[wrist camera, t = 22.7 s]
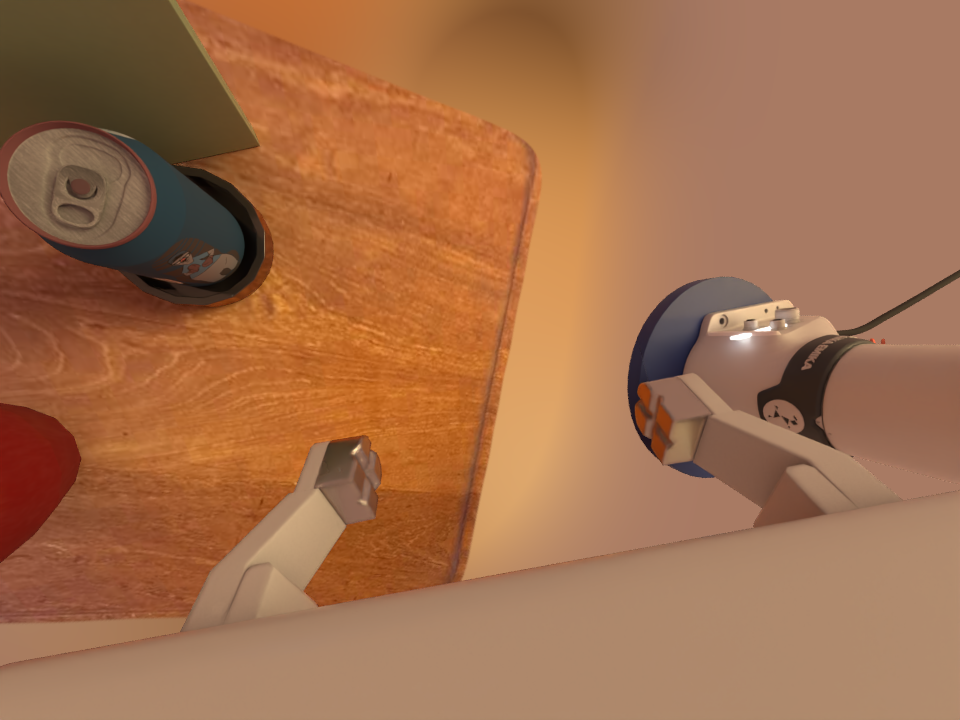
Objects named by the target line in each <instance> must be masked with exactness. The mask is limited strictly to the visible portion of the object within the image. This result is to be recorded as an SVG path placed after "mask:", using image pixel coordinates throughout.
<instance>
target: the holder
mask: <svg viewBox="0 0 960 720" xmlns="http://www.w3.org/2000/svg"><path fill="white" fill-rule="evenodd" d="M172 166H173V167H174V168H176V169H177V170H178V171H179V172H181V173H182V174H183V175H184V176H186V177H187V178H188V179H189V180H191V181H192V182H193V183H194V184H196V185H197V186H198V187H199V188H201V189H202V190H203V191H204V192H206V193H207V194H208V195H209V196H211V197H212V198H213V199H214V200H216V201H217V202H218V203H219V204H221V205H222V206H223V207H224V208H226V209H227V210H228V211H229V212H230V213H231V214H232V215H233V217H234V218H235V219H236V221H237V222H238V224H239V226H240V228H241V230H242V233H243V237H244V244H245V248H244V255H243V258H242V261H241V263H240V265H239V267H238V268H237V269H236V271H235V272H234V273H233V274H232V275H230V276H229V277H228V278H226V279H225V280H223V281H221V282H219V283H216V284H213V285H208V286H199V287H194V286H185V285H181V284H176V283H172V282H168V281H163V280H159V279H154V278H150V277H146V276H141V275H137V274H133V273H128V272H124V271H120V270H119V271H120V272H121V273H122V274H123V275H124V276H126V277H127V278H128V279H129V280H130V281H131V282H133V283H134V284H135V285H136V286H137V287H139V288H140V289H141V290H142V291H144V292H145V293H148V294H151V295H153V296H156V297H158V298H161V299H163V300H166V301H168V302H171V303H174V304H180V305H188V306H204V307H218V306H223V305H228V304H232V303H235V302H237V301H240V300H242V299H244V298H246V297H247V296H249V295H250V294H252V293H253V292H254V291H255V290H257V289H258V288H259V287H260V286H261V284H262V283H263V282H264V280H265V279H266V277H267V275H268V274H269V271H270V268H271V266H272V261H273V241H272V237H271V233H270V231H269V228H268V226H267V224H266V222H265V220H264V219H263V217H262V214H261V213H260V212H259V211H258V210H257V209H256V208H255V207H254V206H253V205H252V204H251V203H250V202H249V201H248V200H247V199H246V198H245V197H244V196H243V195H242V194H241V193H240V192H239V191H238V190H237V189H236V188H235V187H234V186H233V185H232V184H231V183H229V182H227V181H225V180H223V179H221V178H219V177H217V176H215V175H213V174H211V173H209V172H207V171H205V170H202V169H197V168H190V167H183V166H176V165H172Z"/></svg>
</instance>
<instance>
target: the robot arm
mask: <svg viewBox="0 0 960 720" xmlns="http://www.w3.org/2000/svg"><path fill="white" fill-rule="evenodd" d="M959 277H960V270H959V271H957V272H955V273H954V274H952V275H950V276H949V277H947V278H945V279H943V280H942V281H940V282H938V283H936V284H935V285H933V286H932V287H930V288H928V289H926V290H925V291H923V292H921V293H920V294H918V295H916V296H914V297H913V298H911V299H909V300H907V301H906V302H904V303H902V304H901V305H899V306H897V307H895V308H893V309H892V310H890V311H888V312H886V313H884V314H883V315H881V316H879V317H877V318H876V319H874V320H872V321H871V322H869V323H867V324H865V325H863V326H861V327H858V328H855V329H851V330H842V331H836V330H835V328H834V327H833V325H832V324H831V323H830V322H829V321H828V320H827V319H825V318H824V317H822V316H800V314H799V309H798V307H794V306H793V305H792V303H791V302H790V301H788V300H777V301H771V302H766V303H760V304H755V305H750V306H745V307H739V308H734V309H729V310H724V311H719V312H713V313H709V314H707V315H706V316H705V317H704V319H703V322H702V325H701V329H700V333H699V337H698V339H697V341H696V343H695V345H694V346H693V348H692V349H691V351H690V353H689V355H688V357H687V360H686V363H685V366H684V370H683V375H680V376H675V377H670V378H665V379H660V380H655V381H650V382H645V383H641V384H640V385H639V387H638V392H637V394H638V395H639V397H640V398H641V399H640V400H639V401H638V402H637V403H636V405H635V417H636V422H637V424H638V427H639V429H640V431H641V432H642V434H643V435H644V436H646V437H648V438H650V439H652V444H651V448H652V449H653V451H654V452H655V454H656V456H657V457H658V459H659V460H660V462H661V463H662V465H669V464H675V463H681V462H688V461H693V463H695V464H696V465H698V466H699V467H701V468H702V469H704V470H705V471H707V472H708V473H710V474H712V475H713V476H715V477H716V478H718V479H719V480H721V481H722V482H724V483H725V484H727V485H728V486H730V487H731V488H733V489H734V490H736V491H737V492H739V493H740V494H742V495H743V496H745V497H746V498H748V499H749V500H751V501H752V502H754V503H755V504H757V505H758V506H760V507H761V508H762V510H761V511H760V513H759V515H758V517H757V518H756V520H755V522H754V525H753V527H754V528H751V529H745V530H739V531H734V532H728V533H723V534H717V535H712V536H706V537H701V538H695V539H690V540H684V541H679V542H673V543H668V544H662V545H657V546H652V547H646V548H640V549H635V550H629V551H624V552H618V553H613V554H607V555H602V556H596V557H591V558H585V559H580V560H575V561H568V562H564V563H558V564H552V565H547V566H541V567H536V568H530V569H525V570H520V571H514V572H508V573H503V574H497V575H492V576H486V577H481V578H476V579H470V580H465V581H459V582H453V583H448V584H443V585H437V586H432V587H426V588H421V589H415V590H410V591H404V592H399V593H393V594H388V595H382V596H377V597H371V598H366V599H360V600H355V601H349V602H344V603H339V604H333V605H328V606H322V607H318V606H317V604H316V602H315V601H314V600H313V599H311V598H310V597H309V596H308V595H307V594H306V593H305V592H303V591H304V589H305V588H306V586H307V585H308V583H309V582H310V580H311V579H312V577H313V576H314V574H315V573H316V571H317V570H318V568H319V567H320V565H321V564H322V562H323V561H324V559H325V558H326V556H327V555H328V553H329V552H330V550H331V549H332V547H333V546H334V544H335V543H336V541H337V540H338V538H339V537H340V535H341V534H342V532H343V531H344V529H345V528H346V525H347V524H352V523H356V522H361V521H366V520H370V519H375V517H376V510H377V504H378V495H377V494H376V492H375V490H376V489H377V487H378V486H379V485H380V484H381V477H382V472H381V463H380V459H379V457H378V455H377V453H376V452H374V451H372V450H370V448H371V441H370V440H369V438H368V436H366V435H362V436H356V437H350V438H344V439H337V440H331V441H327V442H321V443H315V444H314V445H313V446H312V447H311V448H310V451H309V453H308V456H307V459H306V461H305V464H304V467H303V469H302V472H301V475H300V477H299V480H298V482H297V485H296V488H295V490H294V493H289V494H288V495H287V496H286V497H285V498H284V499H283V500H282V501H281V502H280V503H279V504H278V505H277V506H276V507H274V508H273V509H272V510H271V511H270V512H269V513H268V514H267V515H266V516H265V517H264V518H263V519H262V520H261V521H260V522H259V523H258V524H257V525H256V526H255V527H254V528H253V529H252V530H251V531H250V532H249V533H248V534H247V535H246V536H245V537H244V538H243V539H242V540H241V541H240V542H239V543H238V544H237V545H236V546H235V547H234V548H233V549H232V550H231V551H230V552H229V553H228V554H227V555H226V556H225V557H224V558H223V559H222V560H221V561H220V562H219V563H218V564H217V565H216V566H215V567H214V568H213V569H212V570H211V571H210V573H209V575H208V577H207V579H206V581H205V583H204V585H203V587H202V589H201V591H200V593H199V595H198V597H197V599H196V601H195V603H194V605H193V607H192V609H191V611H190V613H189V615H188V617H187V619H186V621H185V623H184V625H183V627H182V629H181V631H180V633H175V634H169V635H163V636H158V637H152V638H147V639H142V640H136V641H130V642H125V643H119V644H114V645H108V646H103V647H97V648H91V649H86V650H80V651H76V652H69V653H64V654H58V655H53V656H48V657H41V658H36V659H30V660H24V661H19V662H14V663H9V664H6V665H3V666H0V720H960V490H958V491H953V492H947V493H941V494H936V495H931V496H925V497H919V498H914V499H908V500H902V499H901V498H900V497H899V496H898V495H896V494H895V493H894V492H893V491H891V490H890V489H889V488H888V487H887V486H886V485H884V484H883V483H882V482H881V481H880V480H878V479H877V478H876V477H875V476H874V475H872V474H871V473H870V472H869V471H867V470H866V469H865V468H864V467H863V466H862V465H860V464H859V463H858V462H856V460H854V459H853V458H852V457H858V458H862V459H865V460H869V461H873V462H876V463H880V464H884V465H888V466H891V467H895V468H899V469H902V470H907V471H910V472H914V473H917V474H921V475H925V476H929V477H932V478H936V479H940V480H944V481H948V482H951V483H955V484H960V345H893V344H891V345H890V344H885V339H882V340H881V344H876V343H875V340H874V339H870V341H868V340H863V339H858V338H857V337H852V335H856V334H860V333H863V332H865V331H868V330H870V329H872V328H874V327H875V326H877V325H879V324H881V323H882V322H884V321H886V320H887V319H889V318H891V317H893V316H894V315H896V314H898V313H900V312H901V311H903V310H905V309H907V308H908V307H910V306H912V305H913V304H915V303H917V302H919V301H920V300H922V299H924V298H925V297H927V296H929V295H930V294H932V293H934V292H935V291H937V290H939V289H940V288H942V287H944V286H945V285H947V284H949V283H951V282H952V281H954V280H956V279H957V278H959Z"/></svg>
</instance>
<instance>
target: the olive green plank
mask: <svg viewBox="0 0 960 720" xmlns="http://www.w3.org/2000/svg"><path fill="white" fill-rule="evenodd" d="M46 121H73V122H79V123H83V124H87V125H90V126H93V127H96V128H102V129H107V130H111V131H115V132H118V133H121V134H124V135H127V136H129V137H131V138H134V139H135V140H137V141H139V142H141V143H143V144H144V145H146V146H147V147H149V148H150V149H152V150H153V151H154V152H156V153H157V154H158V155H159V156H161V157H162V158H163V159H164V160H166V161H167V162H168V163H169V164H175V163H180V162H184V161H189V160H194V159H199V158H203V157H208V156H213V155H218V154H223V153H227V152H232V151H237V150H242V149H246V148H251V147H256V146H260V144H259V142H258V139H257V137H256V135H255V132H254V130H253V128H252V126H251V124H250V122H249V121H248V119H247V117H246V116H245V114H244V112H243V111H242V109H241V107H240V106H239V104H238V102H237V101H236V99H235V97H234V96H233V94H232V92H231V91H230V89H229V88H228V86H227V84H226V83H225V81H224V79H223V78H222V76H221V74H220V73H219V71H218V69H217V68H216V66H215V64H214V63H213V61H212V59H211V58H210V56H209V54H208V53H207V51H206V50H205V48H204V46H203V45H202V43H201V41H200V40H199V38H198V36H197V35H196V33H195V31H194V30H193V28H192V26H191V25H190V23H189V21H188V20H187V18H186V17H185V15H184V13H183V12H182V10H181V8H180V7H179V5H178V3H177V2H176V0H0V149H1V147H2V146H3V144H4V143H5V142H6V141H7V139H9V138H10V137H11V136H12V135H13V134H15V133H16V132H18V131H19V130H21V129H23V128H25V127H28V126H30V125H33V124H36V123H40V122H46Z"/></svg>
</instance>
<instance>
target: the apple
mask: <svg viewBox="0 0 960 720" xmlns="http://www.w3.org/2000/svg"><path fill="white" fill-rule="evenodd" d="M80 462H81V456H80V453H79V450H78V448H77V445H76V442H75V439H74V436H73V435H72V434H71V433H70V432H69V431H68V430H66V429H65V428H64V427H63V426H62V425H61V424H60V423H59V422H58V421H57V420H56V419H55V418H53V417H51V416H48V415H45V414H43V413H40V412H37V411H35V410H32V409H29V408H27V407H22V406H16V405H10V404H4V403H0V563H1V562H2V561H3V560H4V559H6V558H7V557H8V556H9V555H10V554H12V553H13V552H14V551H15V550H16V549H18V548H19V547H20V546H21V545H22V544H24V543H25V542H26V541H27V540H28V539H30V538H31V537H32V536H33V535H34V534H35V533H36V532H37V531H38V529H39V528H40V527H41V526H42V524H43V523H44V522H45V521H46V519H47V518H48V517H49V516H50V514H51V513H52V512H53V511H54V509H55V508H56V507H57V506H58V504H59V503H60V502H61V500H62V499H63V497H64V496H65V495H66V493H67V492H68V491H69V489H70V488H71V486H72V485H73V484H74V482H75V481H76V477H77V473H78V469H79V465H80Z"/></svg>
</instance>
